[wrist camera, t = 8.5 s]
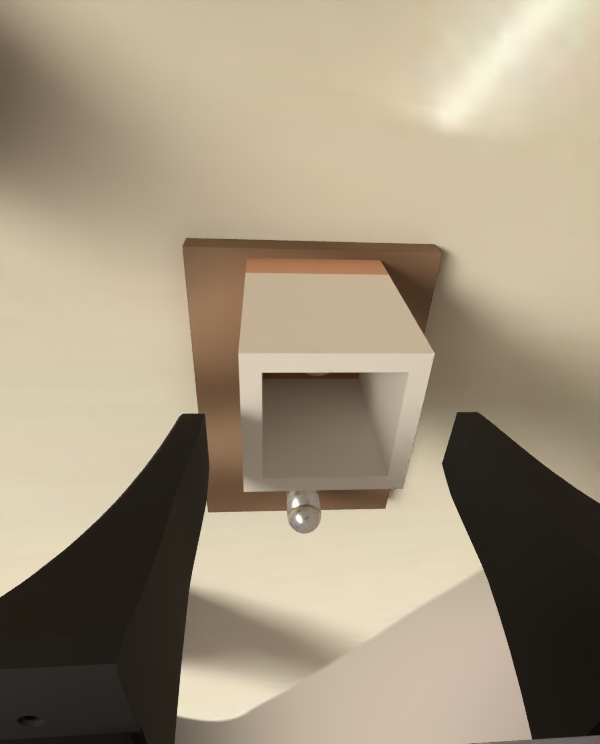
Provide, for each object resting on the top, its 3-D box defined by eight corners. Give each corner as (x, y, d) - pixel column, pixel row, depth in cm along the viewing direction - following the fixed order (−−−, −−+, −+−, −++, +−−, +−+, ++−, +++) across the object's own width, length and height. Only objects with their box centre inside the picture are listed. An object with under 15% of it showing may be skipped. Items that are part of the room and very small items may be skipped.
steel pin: (314, 482, 25) (321, 540, 22) (284, 483, 25) (287, 541, 22) (316, 461, 24) (323, 517, 21) (285, 461, 24) (288, 518, 21)
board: (381, 495, 27) (385, 508, 26) (209, 497, 26) (207, 512, 26) (434, 244, 19) (441, 252, 18) (186, 238, 18) (182, 246, 17)
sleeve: (364, 370, 21) (403, 488, 15) (249, 370, 21) (243, 491, 15) (380, 259, 18) (435, 353, 12) (246, 257, 18) (238, 353, 12)
